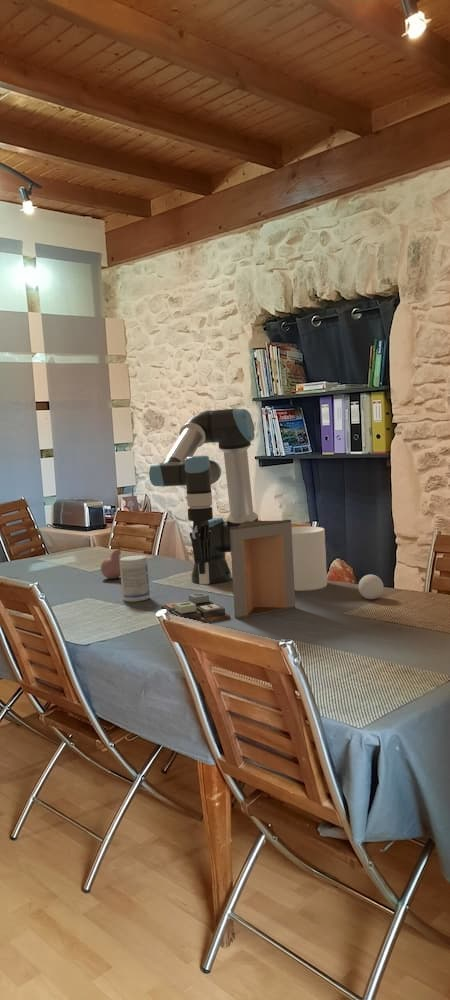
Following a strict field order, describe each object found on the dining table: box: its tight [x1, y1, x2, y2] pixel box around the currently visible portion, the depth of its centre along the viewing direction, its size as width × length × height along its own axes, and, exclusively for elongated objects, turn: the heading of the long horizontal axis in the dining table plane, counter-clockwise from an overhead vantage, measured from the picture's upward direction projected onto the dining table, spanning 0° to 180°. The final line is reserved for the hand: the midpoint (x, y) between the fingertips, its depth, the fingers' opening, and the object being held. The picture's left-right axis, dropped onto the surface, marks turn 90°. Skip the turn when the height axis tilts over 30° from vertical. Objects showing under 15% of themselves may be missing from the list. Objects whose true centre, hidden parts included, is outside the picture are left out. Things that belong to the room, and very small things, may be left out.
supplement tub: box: [120, 555, 151, 603], centre depth 263 cm, size 10×10×15 cm
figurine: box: [100, 548, 122, 580], centre depth 302 cm, size 9×11×12 cm
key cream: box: [199, 603, 222, 611], centre depth 233 cm, size 5×5×2 cm
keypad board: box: [161, 600, 231, 624], centre depth 236 cm, size 17×19×3 cm
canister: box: [291, 526, 328, 592], centre depth 269 cm, size 16×16×20 cm
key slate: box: [188, 592, 210, 604], centre depth 241 cm, size 5×5×2 cm
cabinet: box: [230, 519, 296, 620], centre depth 237 cm, size 21×10×28 cm, turn 117°
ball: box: [357, 573, 384, 600], centre depth 244 cm, size 8×8×8 cm
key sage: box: [175, 601, 196, 614], centre depth 230 cm, size 5×5×2 cm
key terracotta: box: [164, 601, 182, 609], centre depth 238 cm, size 5×5×2 cm
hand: (204, 583), depth 231 cm, fingers closed
